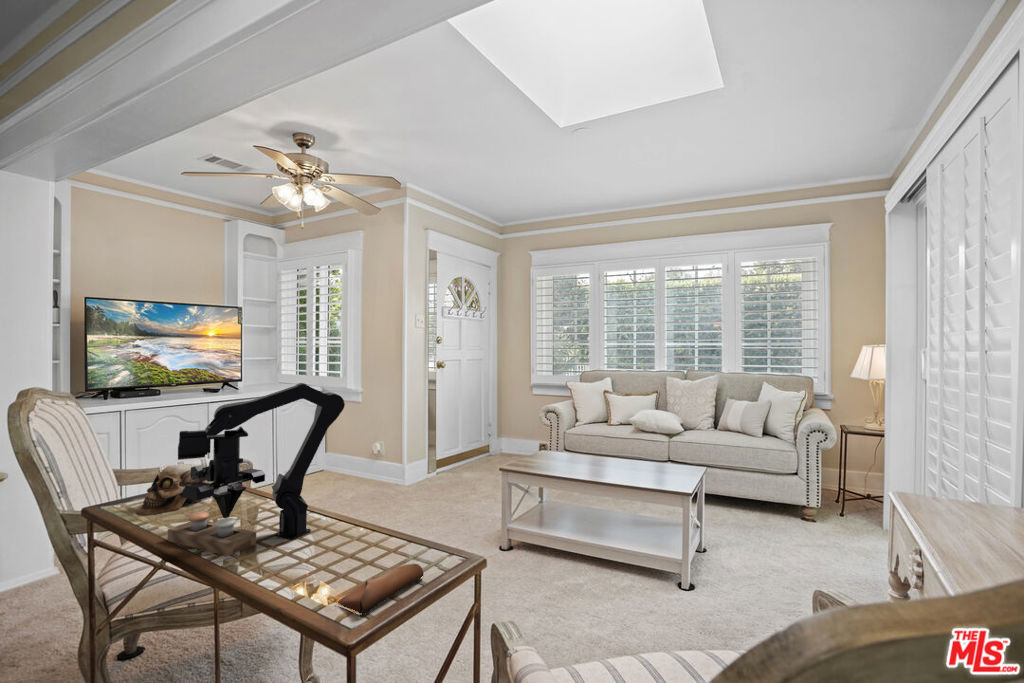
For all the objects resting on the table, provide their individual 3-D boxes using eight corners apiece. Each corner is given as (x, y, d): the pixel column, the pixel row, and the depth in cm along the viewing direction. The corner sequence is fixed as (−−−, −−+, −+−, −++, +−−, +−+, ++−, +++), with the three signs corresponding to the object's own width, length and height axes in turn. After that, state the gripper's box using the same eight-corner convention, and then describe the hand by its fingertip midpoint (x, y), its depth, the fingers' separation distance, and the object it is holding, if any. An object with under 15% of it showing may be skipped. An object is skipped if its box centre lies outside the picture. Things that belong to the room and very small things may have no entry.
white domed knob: (239, 533, 127) (239, 519, 127) (223, 539, 123) (223, 525, 123) (227, 531, 129) (227, 516, 129) (211, 537, 125) (211, 522, 125)
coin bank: (131, 515, 147) (136, 468, 148) (163, 502, 164) (167, 460, 165) (189, 515, 149) (194, 469, 151) (214, 503, 166) (218, 461, 168)
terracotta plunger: (212, 527, 131) (212, 513, 131) (195, 533, 127) (196, 519, 127) (201, 524, 133) (201, 511, 133) (184, 530, 129) (184, 516, 129)
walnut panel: (256, 544, 128) (256, 532, 128) (227, 556, 120) (227, 543, 120) (197, 530, 136) (198, 519, 136) (167, 540, 129) (167, 529, 129)
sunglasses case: (394, 570, 114) (406, 547, 112) (415, 592, 111) (427, 570, 109) (331, 606, 98) (343, 581, 97) (353, 633, 95) (367, 608, 94)
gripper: (237, 445, 138) (236, 502, 138) (167, 459, 121) (166, 524, 121) (266, 449, 134) (266, 508, 134) (198, 464, 117) (198, 532, 116)
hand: (225, 517), depth 126 cm, fingers closed
